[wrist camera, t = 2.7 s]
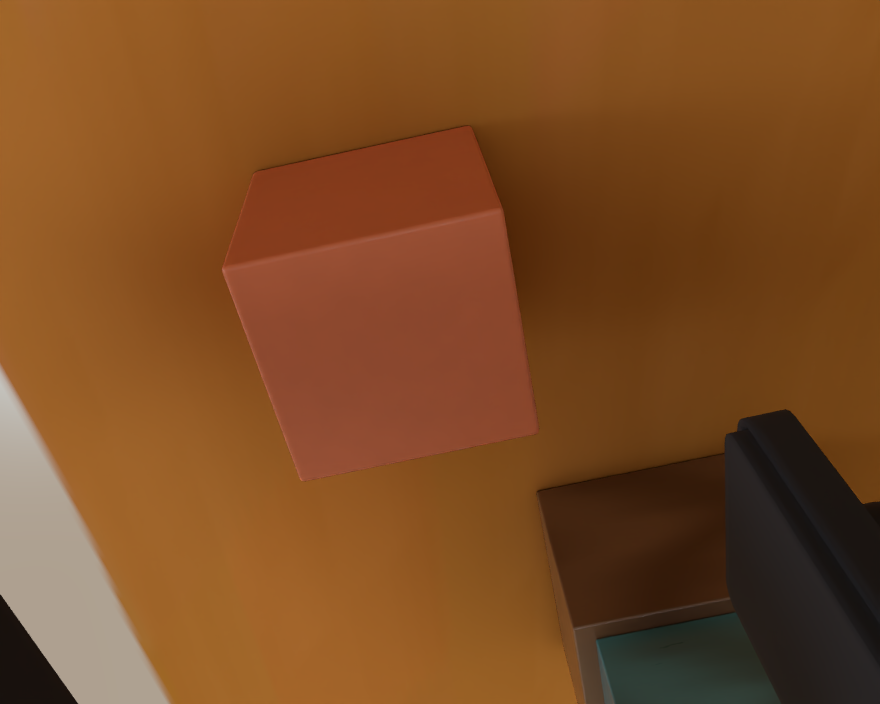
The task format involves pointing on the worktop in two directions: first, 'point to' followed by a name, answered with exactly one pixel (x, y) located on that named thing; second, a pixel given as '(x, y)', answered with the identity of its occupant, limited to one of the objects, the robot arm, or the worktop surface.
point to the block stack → (649, 589)
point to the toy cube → (383, 304)
